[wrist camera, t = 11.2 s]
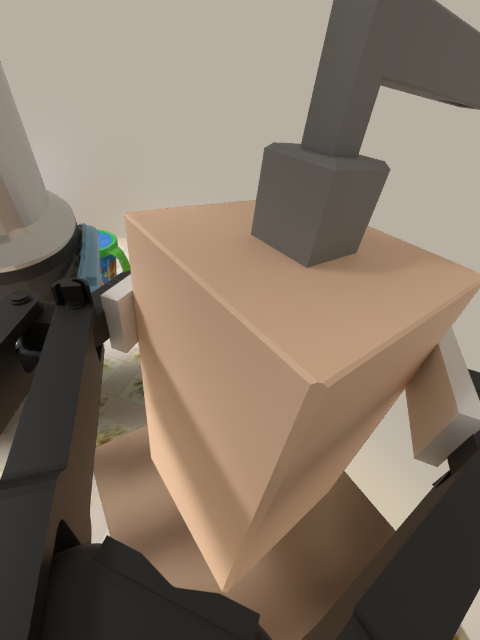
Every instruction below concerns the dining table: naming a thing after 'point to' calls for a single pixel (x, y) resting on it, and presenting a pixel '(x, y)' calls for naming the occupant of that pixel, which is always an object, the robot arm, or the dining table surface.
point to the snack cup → (110, 256)
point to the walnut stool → (272, 570)
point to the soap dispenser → (295, 297)
